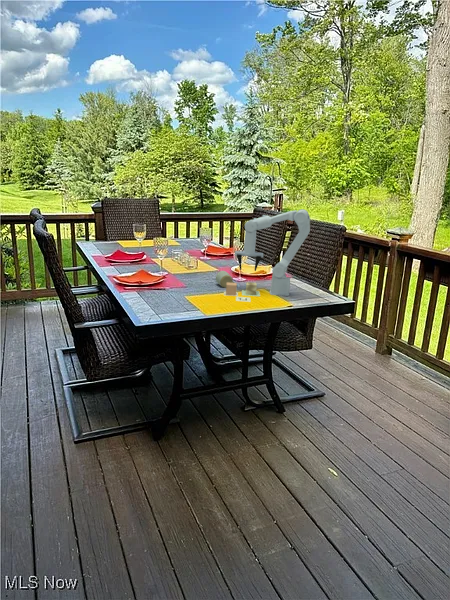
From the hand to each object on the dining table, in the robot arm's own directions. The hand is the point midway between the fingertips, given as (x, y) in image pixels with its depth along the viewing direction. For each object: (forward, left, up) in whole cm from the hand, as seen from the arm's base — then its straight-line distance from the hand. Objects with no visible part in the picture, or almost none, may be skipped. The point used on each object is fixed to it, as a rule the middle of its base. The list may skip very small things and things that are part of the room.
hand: (247, 270), depth 225 cm
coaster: (-2, +8, -10) cm, 13 cm away
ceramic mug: (+10, -4, -11) cm, 15 cm away
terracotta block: (+8, +11, -10) cm, 17 cm away
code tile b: (+8, +11, -10) cm, 17 cm away
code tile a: (+2, +19, -10) cm, 22 cm away
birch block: (-2, +8, -10) cm, 13 cm away
